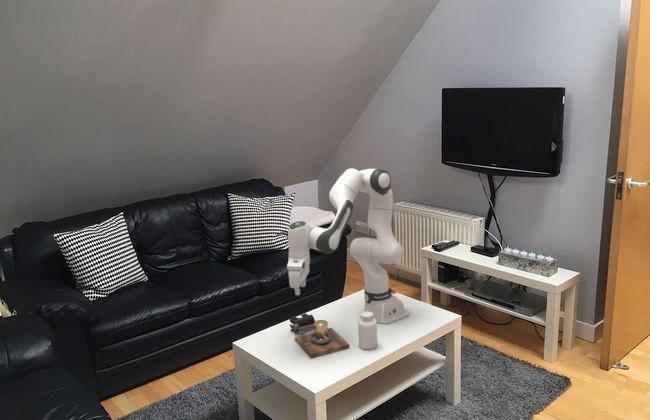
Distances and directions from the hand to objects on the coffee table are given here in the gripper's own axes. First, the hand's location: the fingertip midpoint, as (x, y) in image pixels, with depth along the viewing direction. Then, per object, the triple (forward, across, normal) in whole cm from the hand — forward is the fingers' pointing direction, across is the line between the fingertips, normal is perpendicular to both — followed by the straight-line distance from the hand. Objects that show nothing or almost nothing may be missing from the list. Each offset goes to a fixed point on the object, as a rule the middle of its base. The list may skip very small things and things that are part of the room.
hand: (300, 290), depth 243 cm
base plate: (+25, 0, +8) cm, 26 cm away
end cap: (+25, -13, -3) cm, 28 cm away
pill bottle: (+25, -2, +29) cm, 38 cm away
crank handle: (+21, +3, +4) cm, 21 cm away
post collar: (+23, 0, +8) cm, 24 cm away
